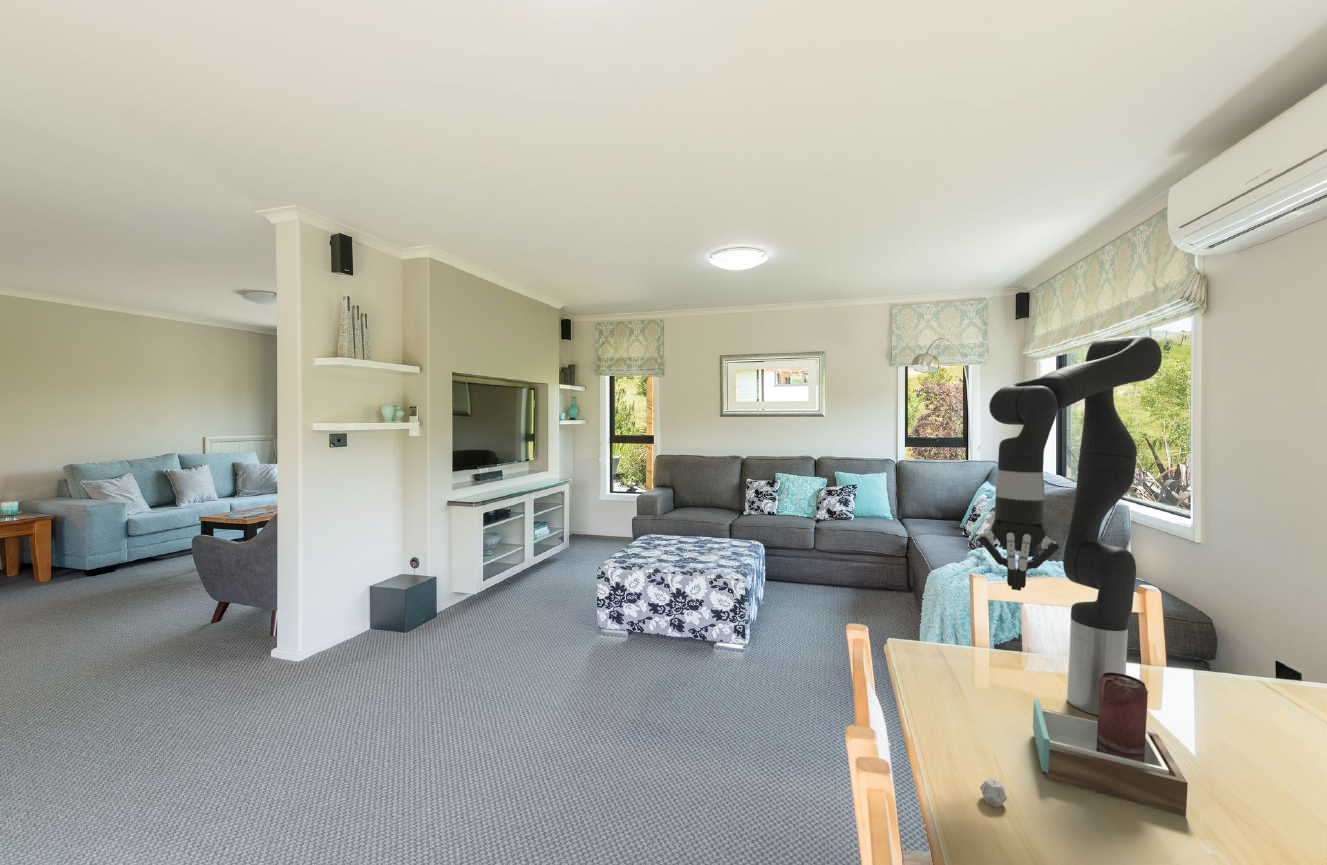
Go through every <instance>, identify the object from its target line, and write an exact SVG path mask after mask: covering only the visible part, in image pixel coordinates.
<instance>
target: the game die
mask: <svg viewBox="0 0 1327 865" xmlns="http://www.w3.org/2000/svg"><path fill="white" fill-rule="evenodd" d="M979 789H980V791H981V794H982V797H983V799H984V800H985V804H988V805H990V806H993V807H995V808H999V807H1000V806H1001V805H1003V804H1004V803H1005V802H1006V801H1007V800H1008V796H1007V793H1006V790H1005V788H1004V786H1003V784H1002V783H1001V781H999V780H996V779H994V778H991V777H989V778H988V779H986V780H985V781H984V782H982V784H981V785H980V786H979Z"/></svg>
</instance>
